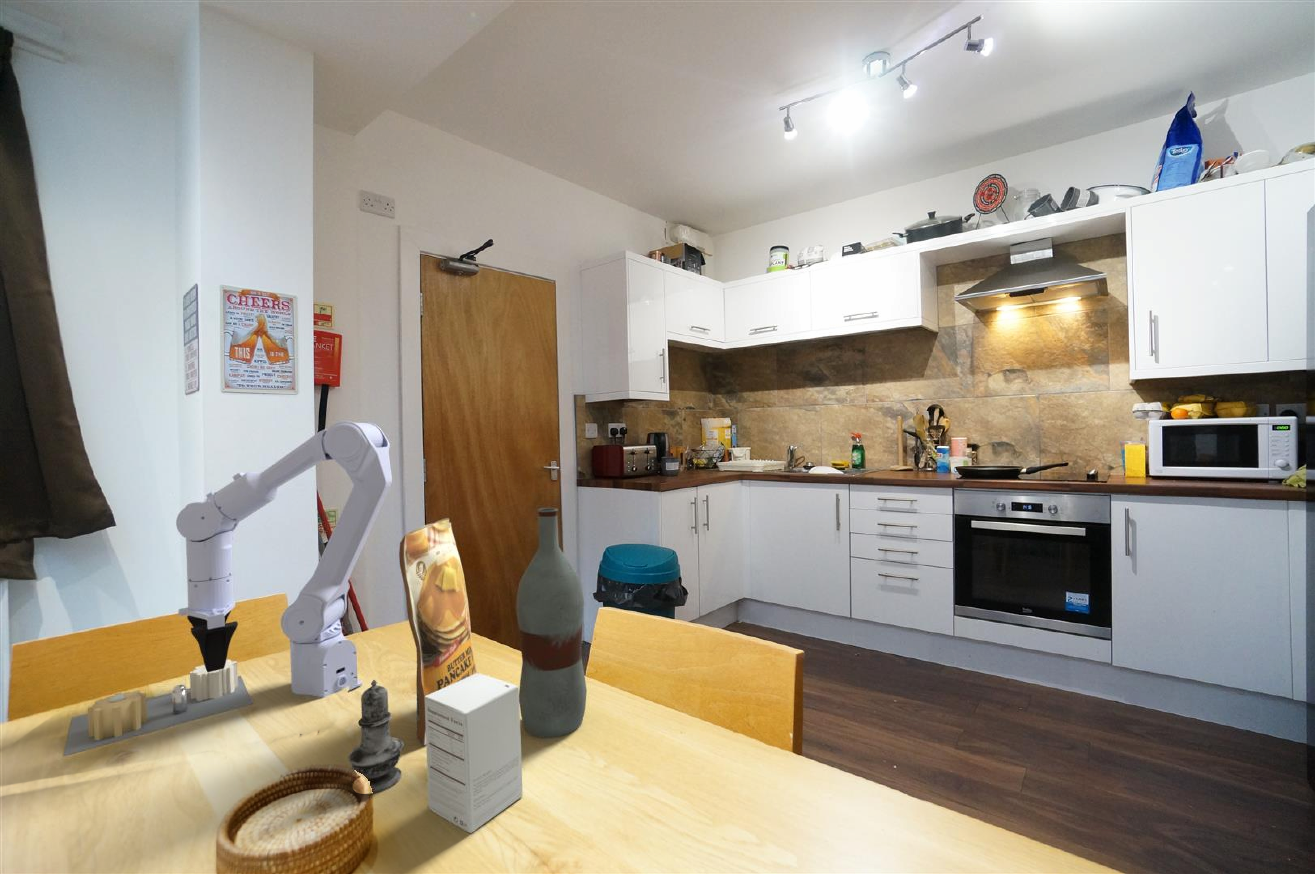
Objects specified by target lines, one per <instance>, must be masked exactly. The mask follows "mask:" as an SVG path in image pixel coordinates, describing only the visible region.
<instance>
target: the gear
mask: <svg viewBox="0 0 1315 874" xmlns="http://www.w3.org/2000/svg"><path fill="white" fill-rule="evenodd" d="M238 671H239V670H238V661H237V660H236V661H234V660H231V659H226V663H225V667H224V669H220V670H216V671H212V672H207V670H206V668H205V664H202V665H199V666H195V667H194V668H193V670H192V671H189V684H190V685H189V687H190V690H191V699H193V698H195V699H197V701H202V700H207V699H208V698H210V699H212V698H214V699H216V698H220V696H223V694H228V693H232V692H234V689H235V688H236V687H238V676H239V675H238Z"/></svg>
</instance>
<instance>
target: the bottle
mask: <svg viewBox="0 0 1315 874" xmlns="http://www.w3.org/2000/svg"><path fill="white" fill-rule="evenodd" d="M558 511H559V509H558V508H557V507H542V508H539V509H537V512H538V549H537V550H536V552H535V554H534V555H533V557H532V559H531V560H530V562H529V564H528V566H527V568H526V569H525V570H524V573H523V575H522V577H521V578H520V580H519V584H518V587H517V596H516V605H515V609H516V617H517V618H516V619H517V623H518V629H519V630H518V631H519V641H520V651H521V652H520V653H521V660H522V665H521V670H520V671H521V673H520V679H519V680H520V681H519V708H520V716H521V717H520V718H521V720H522V722H523V726H524V730H525V731H526V732H527V733H528V734H529V735H532V736H534V737H537V738H545V739H546V738H557V737H563V736H565V735H568V734H570V733H572V732H574V731H577V730H578V729H579V728H580V726H581V725H582V724H583V720H584V716H585V711H586V703H587V702H586V701H587V692H588V690H587V683H586V675H585V671H584V665H583V659H582V642H583V624H584V623H583V621H584V611H585V610H584V609H585V608H584V607H585V601H584V600H585V599H584V595H583V594H584V593H583V586H582V582H581V579H580V575H579V574H578V573H577V571H576V570H575V568H574V567H573V565H572V564H571V563H570V561H569V560H568V558H567V557H566V555H565V553H563V551H562V549H561V548H560V546H559V545H560V544H559V526H558Z"/></svg>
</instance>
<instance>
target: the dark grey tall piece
mask: <svg viewBox="0 0 1315 874" xmlns="http://www.w3.org/2000/svg"><path fill="white" fill-rule="evenodd" d="M377 684H378V681H377V680H375V679H373V681H371V683H370V685H371V686H370V687H369V688H367V689H365V690H364V691H363V693H362V694H361V698H360V703H361V707H360V708H361V718H360V719H359V720H358V722H357V723H358V726H359V727H361V729H360V730H361V740H360V744H359V745H358V746H356V747H355V748H353V749H352V751H351V752H350V753H349V754H348V762H349V763H350V764H351V768H352V770H353V769H354V770H356V771H357V772H359V773H361V774H363V775H364V776H365V777H366V778H367V779H368V781H370V786H371V788H372V792H373V794H372V795H374V794H377V793H378V794H379V793H382V792H384V791H386V790H388V789H390V788H392V787H394V786H396V784H397V783H398V782H400V780H401V779H402V776H403V774H402V770H401V769H400V768H398V767H396V766H397V765H398V763H399V760H400V758H401V755H402V750H403V748H404V741H402V740H401V739H400V738H398V737H397V738H396V737H392V735H391V732H390V731H391V730H390V720H391V718H392V717H393V714H392V712H391V711H389V698H388V697H389V694H388V689H387V688H386V687H384V686H381V685H377ZM354 770H353V771H354Z"/></svg>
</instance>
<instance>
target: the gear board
mask: <svg viewBox="0 0 1315 874" xmlns="http://www.w3.org/2000/svg"><path fill="white" fill-rule="evenodd" d="M186 693H187V711H186V712H185V713H182V714H178V715H173V700H172V692H170V693H165V694H161V695H158V696H153V697H150V698H147V692H141V690H140V689H139V690H136V689H135V690H133V691H130V692H129V691H128V692H118V693H115V694H114V695H110V696H107V697H105V698H98V699H97V700H94V703H93V705H88V706H87V713H85V714H81V715H78V716H77V715H76V716H73V717H72V718H71V721H70V726H69V731H68V734H67V735H68V736H67V739H66V742H65V747H64V751H63V755H62V756H63V757H66V756H71V755H74V754H78V753H80V752H85V751H88V750H91V749H96V748H98V747H103V746H106V745H110V744H113V743H116V742H117V743H118V742H121V741H124V740H127V739H131V738H134V737H138V736H142V735H145V734H149V733H152V732H156V731H160V730H164V729H168V728H171V727H174V726H178V725H181V724H184V723H188V722H192V721H196V720H199V719H203V718H207V717H210V716H213V715H214V716H215V715H216V714H221V713H224V712H228V711H231V710H235V709H239V708H242V707H247V706H249V705H253V704H254V703H253V700H252V698H251V696H250V693H249V690H248V689H247V686H246V684H245V682H244V680H243V677H242V675H238V687H236V688H235V689H234V692H232V693H228V694H223V696H220V698H216V699H214V698H212V699H210V698H208V699H207V700H202V701H197V699H195V698H193V699H191V690H190V688H186Z"/></svg>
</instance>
